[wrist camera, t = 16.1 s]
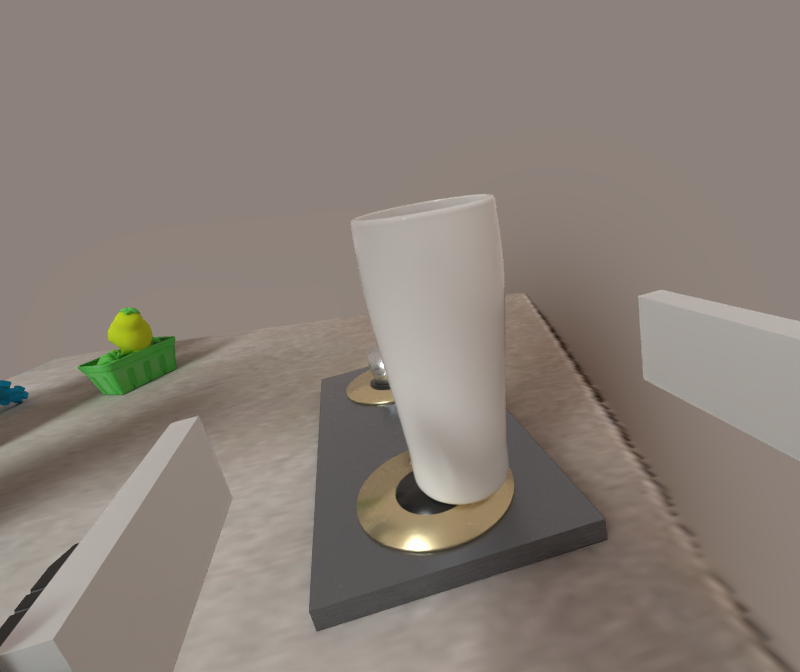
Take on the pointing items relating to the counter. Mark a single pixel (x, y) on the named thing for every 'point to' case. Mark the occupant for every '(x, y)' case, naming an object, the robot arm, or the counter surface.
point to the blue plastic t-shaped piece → (11, 393)
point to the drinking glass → (441, 337)
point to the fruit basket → (131, 356)
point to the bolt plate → (421, 510)
